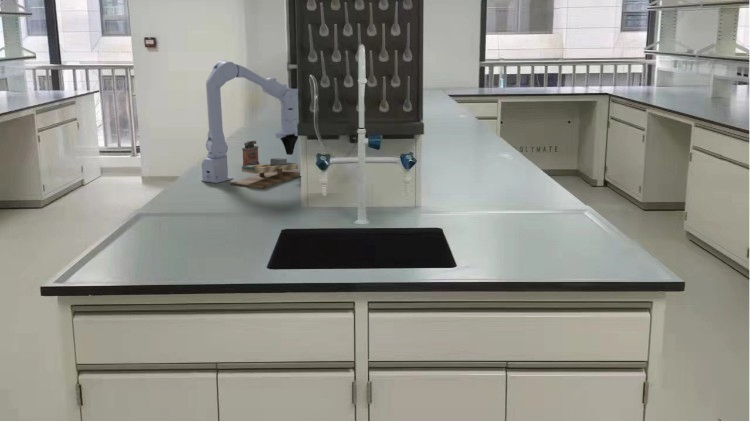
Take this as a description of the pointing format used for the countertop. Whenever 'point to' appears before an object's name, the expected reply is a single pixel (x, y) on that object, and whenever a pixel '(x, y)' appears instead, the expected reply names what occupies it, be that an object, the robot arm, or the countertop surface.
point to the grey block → (278, 162)
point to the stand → (267, 179)
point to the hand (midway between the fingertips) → (289, 154)
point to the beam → (268, 168)
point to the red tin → (250, 154)
